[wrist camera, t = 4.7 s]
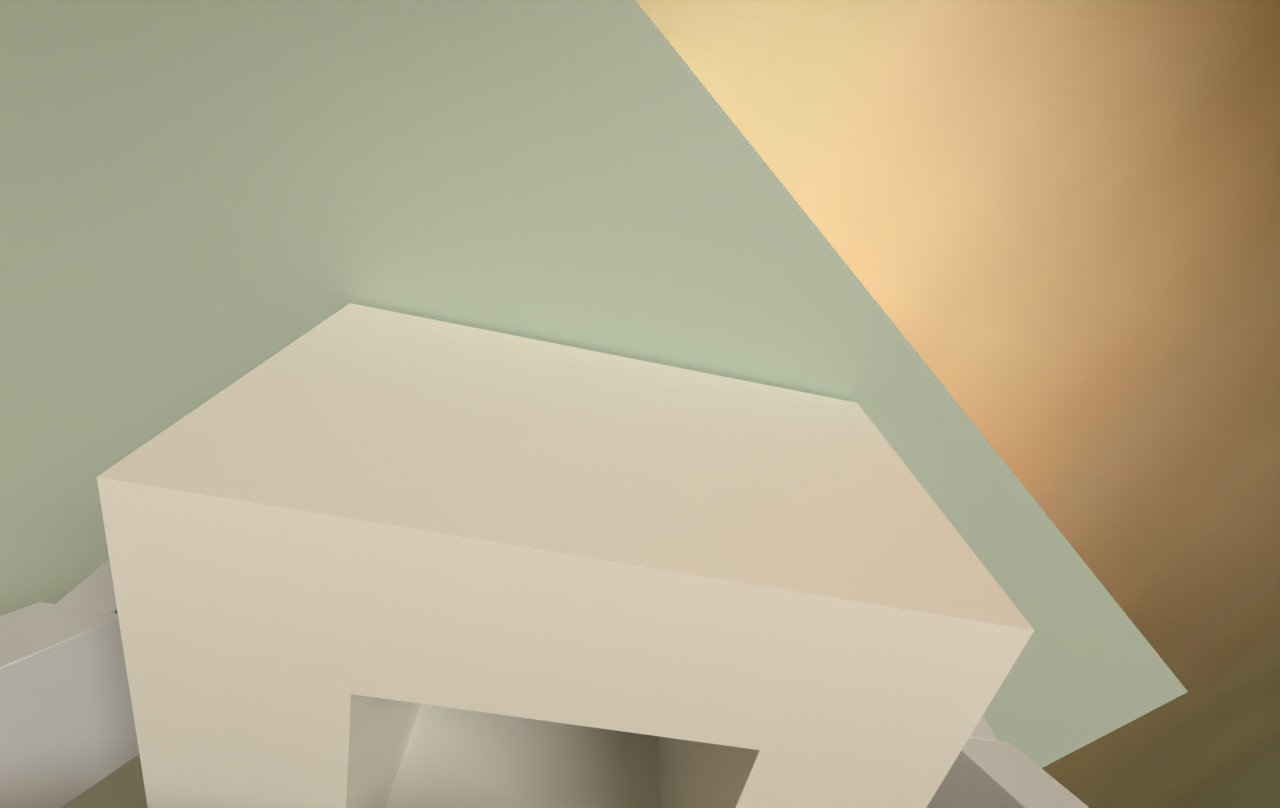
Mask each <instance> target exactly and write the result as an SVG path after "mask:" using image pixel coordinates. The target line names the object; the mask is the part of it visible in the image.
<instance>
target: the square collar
mask: <svg viewBox="0 0 1280 808" xmlns="http://www.w3.org/2000/svg"><path fill="white" fill-rule="evenodd" d="M97 482H98V489H99V495H100V502H101V508H102V515H103V521H104V528H105V534H106V541H107V547H108V554H109V560H110V567H111V573H112V580H113V586H114V592H115V599H116V605H117V612H118V618H119V625H120V631H121V638H122V644H123V651H124V657H125V664H126V670H127V677H128V683H129V689H130V696H131V702H132V709H133V715H134V722H135V728H136V735H137V741H138V748H139V754H140V761H141V767H142V774H143V780H144V786H145V793H146V799H147V806H148V808H926V807H927V806H928V804H929V803H930V801H931V799H932V798H933V796H934V794H935V793H936V791H937V789H938V788H939V786H940V785H941V783H942V781H943V780H944V778H945V776H946V775H947V773H948V771H949V770H950V768H951V766H952V765H953V763H954V762H955V760H956V758H957V757H958V755H959V753H960V752H961V750H962V748H963V747H964V745H965V744H966V742H967V740H968V739H969V737H970V735H971V734H972V732H973V730H974V729H975V727H976V725H977V724H978V722H979V721H980V719H981V717H982V716H983V714H984V712H985V711H986V709H987V707H988V706H989V704H990V703H991V701H992V699H993V698H994V696H995V694H996V693H997V691H998V689H999V688H1000V686H1001V685H1002V683H1003V681H1004V680H1005V678H1006V676H1007V675H1008V673H1009V671H1010V670H1011V668H1012V666H1013V665H1014V663H1015V662H1016V660H1017V658H1018V657H1019V655H1020V653H1021V652H1022V650H1023V648H1024V647H1025V645H1026V644H1027V642H1028V640H1029V639H1030V637H1031V635H1032V634H1033V632H1034V629H1033V628H1032V627H1031V625H1030V624H1029V623H1028V621H1027V620H1026V619H1025V618H1024V616H1023V615H1022V614H1021V612H1020V611H1019V610H1018V609H1017V607H1016V606H1015V605H1014V603H1013V602H1012V601H1011V600H1010V598H1009V597H1008V596H1007V595H1006V593H1005V592H1004V591H1003V589H1002V588H1001V587H1000V586H999V584H998V583H997V582H996V580H995V579H994V578H993V577H992V575H991V574H990V573H989V571H988V570H987V569H986V568H985V566H984V565H983V564H982V562H981V561H980V560H979V559H978V557H977V556H976V555H975V553H974V552H973V551H972V550H971V548H970V547H969V546H968V544H967V543H966V542H965V541H964V539H963V538H962V537H961V535H960V534H959V533H958V532H957V530H956V529H955V528H954V526H953V525H952V524H951V523H950V521H949V520H948V519H947V517H946V516H945V515H944V514H943V512H942V511H941V510H940V508H939V507H938V506H937V505H936V503H935V502H934V501H933V499H932V498H931V497H930V496H929V494H928V493H927V492H926V490H925V489H924V488H923V487H922V485H921V484H920V483H919V482H918V480H917V479H916V478H915V476H914V475H913V474H912V473H911V471H910V470H909V469H908V467H907V466H906V465H905V464H904V462H903V461H902V460H901V458H900V457H899V456H898V455H897V453H896V452H895V451H894V449H893V448H892V447H891V446H890V444H889V443H888V442H887V440H886V439H885V438H884V437H883V435H882V434H881V433H880V431H879V430H878V429H877V428H876V426H875V425H874V424H873V422H872V421H871V420H870V419H869V417H868V416H867V415H866V413H865V412H864V411H863V410H862V408H861V407H860V406H859V404H858V403H857V402H851V401H846V400H841V399H836V398H831V397H826V396H821V395H816V394H811V393H806V392H800V391H795V390H790V389H785V388H780V387H775V386H770V385H765V384H760V383H755V382H750V381H744V380H739V379H734V378H729V377H724V376H719V375H714V374H709V373H704V372H699V371H693V370H688V369H683V368H678V367H673V366H668V365H663V364H658V363H653V362H648V361H643V360H637V359H632V358H627V357H622V356H617V355H612V354H607V353H602V352H597V351H592V350H587V349H581V348H576V347H571V346H566V345H561V344H556V343H551V342H546V341H541V340H536V339H530V338H525V337H520V336H515V335H510V334H505V333H500V332H495V331H490V330H485V329H480V328H474V327H469V326H464V325H459V324H454V323H449V322H444V321H439V320H434V319H429V318H424V317H418V316H413V315H408V314H403V313H398V312H393V311H388V310H383V309H378V308H373V307H367V306H362V305H357V304H352V303H349V304H348V305H346V306H345V307H344V308H342V309H341V310H339V311H338V312H336V313H335V314H333V315H332V316H330V317H329V318H328V319H326V320H325V321H323V322H322V323H320V324H319V325H317V326H316V327H314V328H313V329H311V330H310V331H309V332H307V333H306V334H304V335H303V336H301V337H300V338H298V339H297V340H295V341H294V342H293V343H291V344H290V345H288V346H287V347H285V348H284V349H282V350H281V351H279V352H278V353H277V354H275V355H274V356H272V357H271V358H269V359H268V360H266V361H265V362H263V363H262V364H260V365H259V366H258V367H256V368H255V369H253V370H252V371H250V372H249V373H247V374H246V375H244V376H243V377H242V378H240V379H239V380H237V381H236V382H234V383H233V384H231V385H230V386H228V387H227V388H226V389H224V390H223V391H221V392H220V393H218V394H217V395H215V396H214V397H212V398H211V399H209V400H208V401H207V402H205V403H204V404H202V405H201V406H199V407H198V408H196V409H195V410H193V411H192V412H191V413H189V414H188V415H186V416H185V417H183V418H182V419H180V420H179V421H177V422H176V423H175V424H173V425H172V426H170V427H169V428H167V429H166V430H164V431H163V432H161V433H160V434H158V435H157V436H156V437H154V438H153V439H151V440H150V441H148V442H147V443H145V444H144V445H142V446H141V447H140V448H138V449H137V450H135V451H134V452H132V453H131V454H129V455H128V456H126V457H125V458H124V459H122V460H121V461H119V462H118V463H116V464H115V465H113V466H112V467H110V468H109V469H107V470H106V471H105V472H103V473H102V474H100V475H99V476H97Z"/></svg>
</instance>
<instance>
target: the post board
mask: <svg viewBox="0 0 1280 808" xmlns="http://www.w3.org/2000/svg"><path fill="white" fill-rule="evenodd" d="M349 303H352V304H357V305H362V306H367V307H373V308H378V309H383V310H388V311H393V312H398V313H403V314H408V315H413V316H418V317H424V318H429V319H434V320H439V321H444V322H449V323H454V324H459V325H464V326H469V327H474V328H480V329H485V330H490V331H495V332H500V333H505V334H510V335H515V336H520V337H525V338H530V339H536V340H541V341H546V342H551V343H556V344H561V345H566V346H571V347H576V348H581V349H587V350H592V351H597V352H602V353H607V354H612V355H617V356H622V357H627V358H632V359H637V360H643V361H648V362H653V363H658V364H663V365H668V366H673V367H678V368H683V369H688V370H693V371H699V372H704V373H709V374H714V375H719V376H724V377H729V378H734V379H739V380H744V381H750V382H755V383H760V384H765V385H770V386H775V387H780V388H785V389H790V390H795V391H800V392H806V393H811V394H816V395H821V396H826V397H831V398H836V399H841V400H846V401H851V402H857V403H858V404H859V406H860V407H861V408H862V410H863V411H864V412H865V413H866V415H867V416H868V417H869V419H870V420H871V421H872V422H873V424H874V425H875V426H876V428H877V429H878V430H879V431H880V433H881V434H882V435H883V437H884V438H885V439H886V440H887V442H888V443H889V444H890V446H891V447H892V448H893V449H894V451H895V452H896V453H897V455H898V456H899V457H900V458H901V460H902V461H903V462H904V464H905V465H906V466H907V467H908V469H909V470H910V471H911V473H912V474H913V475H914V476H915V478H916V479H917V480H918V482H919V483H920V484H921V485H922V487H923V488H924V489H925V490H926V492H927V493H928V494H929V496H930V497H931V498H932V499H933V501H934V502H935V503H936V505H937V506H938V507H939V508H940V510H941V511H942V512H943V514H944V515H945V516H946V517H947V519H948V520H949V521H950V523H951V524H952V525H953V526H954V528H955V529H956V530H957V532H958V533H959V534H960V535H961V537H962V538H963V539H964V541H965V542H966V543H967V544H968V546H969V547H970V548H971V550H972V551H973V552H974V553H975V555H976V556H977V557H978V559H979V560H980V561H981V562H982V564H983V565H984V566H985V568H986V569H987V570H988V571H989V573H990V574H991V575H992V577H993V578H994V579H995V580H996V582H997V583H998V584H999V586H1000V587H1001V588H1002V589H1003V591H1004V592H1005V593H1006V595H1007V596H1008V597H1009V598H1010V600H1011V601H1012V602H1013V603H1014V605H1015V606H1016V607H1017V609H1018V610H1019V611H1020V612H1021V614H1022V615H1023V616H1024V618H1025V619H1026V620H1027V621H1028V623H1029V624H1030V625H1031V627H1032V628H1033V629H1034V632H1033V634H1032V635H1031V637H1030V639H1029V640H1028V642H1027V644H1026V645H1025V647H1024V648H1023V650H1022V652H1021V653H1020V655H1019V657H1018V658H1017V660H1016V662H1015V663H1014V665H1013V666H1012V668H1011V670H1010V671H1009V673H1008V675H1007V676H1006V678H1005V680H1004V681H1003V683H1002V685H1001V686H1000V688H999V689H998V691H997V693H996V694H995V696H994V698H993V699H992V701H991V703H990V704H989V706H988V707H987V709H986V711H985V712H984V714H983V716H984V718H985V719H986V721H987V723H988V724H989V726H990V728H991V730H992V731H993V733H994V735H995V736H996V738H997V740H998V741H1002V742H1008V743H1011V744H1012V745H1014V746H1015V747H1016V748H1017V749H1018V750H1020V751H1021V752H1022V753H1023V754H1024V755H1026V756H1027V757H1028V758H1029V759H1031V760H1032V761H1033V762H1034V763H1035V764H1037V765H1038V766H1039V767H1040V768H1043V767H1045V766H1047V765H1049V764H1050V763H1052V762H1054V761H1056V760H1058V759H1060V758H1062V757H1064V756H1066V755H1068V754H1070V753H1072V752H1073V751H1075V750H1077V749H1079V748H1081V747H1083V746H1085V745H1087V744H1089V743H1091V742H1093V741H1095V740H1096V739H1098V738H1100V737H1102V736H1104V735H1106V734H1108V733H1110V732H1112V731H1114V730H1116V729H1118V728H1119V727H1121V726H1123V725H1125V724H1127V723H1129V722H1131V721H1133V720H1135V719H1137V718H1139V717H1141V716H1142V715H1144V714H1146V713H1148V712H1150V711H1152V710H1154V709H1156V708H1158V707H1160V706H1162V705H1164V704H1165V703H1167V702H1169V701H1171V700H1173V699H1175V698H1177V697H1179V696H1181V695H1183V694H1185V693H1187V692H1188V691H1187V690H1186V689H1185V688H1184V686H1183V685H1182V684H1181V683H1180V681H1179V680H1178V679H1177V678H1176V676H1175V675H1174V674H1173V673H1172V671H1171V670H1170V669H1169V668H1168V666H1167V665H1166V664H1165V663H1164V661H1163V660H1162V659H1161V658H1160V656H1159V655H1158V654H1157V653H1156V651H1155V650H1154V649H1153V648H1152V646H1151V645H1150V644H1149V643H1148V641H1147V640H1146V639H1145V638H1144V636H1143V635H1142V634H1141V633H1140V631H1139V630H1138V629H1137V628H1136V626H1135V625H1134V624H1133V623H1132V621H1131V620H1130V619H1129V618H1128V616H1127V615H1126V614H1125V613H1124V611H1123V610H1122V609H1121V608H1120V606H1119V605H1118V604H1117V603H1116V601H1115V600H1114V599H1113V598H1112V596H1111V595H1110V594H1109V593H1108V591H1107V590H1106V589H1105V588H1104V586H1103V585H1102V584H1101V583H1100V581H1099V580H1098V579H1097V578H1096V576H1095V575H1094V574H1093V573H1092V571H1091V570H1090V569H1089V568H1088V566H1087V565H1086V564H1085V563H1084V561H1083V560H1082V559H1081V558H1080V556H1079V555H1078V554H1077V553H1076V551H1075V550H1074V549H1073V547H1072V546H1071V545H1070V544H1069V542H1068V541H1067V540H1066V539H1065V537H1064V536H1063V535H1062V534H1061V532H1060V531H1059V530H1058V529H1057V527H1056V526H1055V525H1054V524H1053V522H1052V521H1051V520H1050V519H1049V517H1048V516H1047V515H1046V514H1045V512H1044V511H1043V510H1042V509H1041V507H1040V506H1039V505H1038V504H1037V502H1036V501H1035V500H1034V499H1033V497H1032V496H1031V495H1030V494H1029V492H1028V491H1027V490H1026V489H1025V487H1024V486H1023V485H1022V484H1021V482H1020V481H1019V480H1018V479H1017V477H1016V476H1015V475H1014V474H1013V472H1012V471H1011V470H1010V469H1009V467H1008V466H1007V465H1006V464H1005V462H1004V461H1003V460H1002V459H1001V457H1000V456H999V455H998V454H997V452H996V451H995V450H994V449H993V447H992V446H991V445H990V444H989V442H988V441H987V440H986V439H985V437H984V436H983V435H982V434H981V432H980V431H979V430H978V429H977V427H976V426H975V425H974V424H973V422H972V421H971V420H970V419H969V417H968V416H967V415H966V414H965V412H964V411H963V410H962V409H961V407H960V406H959V405H958V404H957V402H956V401H955V400H954V399H953V397H952V396H951V395H950V394H949V392H948V391H947V390H946V389H945V387H944V386H943V385H942V384H941V382H940V381H939V380H938V379H937V377H936V376H935V375H934V374H933V372H932V371H931V370H930V369H929V367H928V366H927V365H926V364H925V362H924V361H923V360H922V359H921V357H920V356H919V355H918V354H917V352H916V351H915V350H914V349H913V347H912V346H911V345H910V344H909V342H908V341H907V340H906V339H905V337H904V336H903V335H902V334H901V332H900V331H899V330H898V329H897V327H896V326H895V325H894V324H893V322H892V321H891V320H890V319H889V317H888V316H887V315H886V314H885V312H884V311H883V310H882V309H881V307H880V306H879V305H878V304H877V302H876V301H875V300H874V299H873V297H872V296H871V295H870V294H869V292H868V291H867V290H866V288H865V287H864V286H863V285H862V283H861V282H860V281H859V280H858V278H857V277H856V276H855V275H854V273H853V272H852V271H851V270H850V268H849V267H848V266H847V265H846V263H845V262H844V261H843V260H842V258H841V257H840V256H839V255H838V253H837V252H836V251H835V250H834V248H833V247H832V246H831V245H830V243H829V242H828V241H827V240H826V238H825V237H824V236H823V235H822V233H821V232H820V231H819V230H818V228H817V227H816V226H815V225H814V223H813V222H812V221H811V220H810V218H809V217H808V216H807V215H806V213H805V212H804V211H803V210H802V208H801V207H800V206H799V205H798V203H797V202H796V201H795V200H794V198H793V197H792V196H791V195H790V193H789V192H788V191H787V190H786V188H785V187H784V186H783V185H782V183H781V182H780V181H779V180H778V178H777V177H776V176H775V175H774V173H773V172H772V171H771V170H770V168H769V167H768V166H767V165H766V163H765V162H764V161H763V160H762V158H761V157H760V156H759V155H758V153H757V152H756V151H755V150H754V148H753V147H752V146H751V145H750V143H749V142H748V141H747V140H746V138H745V137H744V136H743V135H742V133H741V132H740V131H739V130H738V128H737V127H736V126H735V125H734V123H733V122H732V121H731V120H730V118H729V117H728V116H727V115H726V113H725V112H724V111H723V110H722V108H721V107H720V106H719V105H718V103H717V102H716V101H715V100H714V98H713V97H712V96H711V95H710V93H709V92H708V91H707V90H706V88H705V87H704V86H703V85H702V83H701V82H700V81H699V80H698V78H697V77H696V76H695V75H694V73H693V72H692V71H691V70H690V68H689V67H688V66H687V65H686V63H685V62H684V61H683V60H682V58H681V57H680V56H679V55H678V53H677V52H676V51H675V50H674V48H673V47H672V46H671V45H670V43H669V42H668V41H667V40H666V38H665V37H664V36H663V35H662V33H661V32H660V31H659V29H658V28H657V27H656V26H655V24H654V23H653V22H652V21H651V19H650V18H649V17H648V16H647V14H646V13H645V12H644V11H643V9H642V8H641V7H640V6H639V4H638V3H637V2H636V1H635V0H0V616H3V615H5V614H8V613H11V612H14V611H16V610H19V609H22V608H25V607H27V606H30V605H33V604H35V603H38V602H43V603H51V604H56V603H57V602H58V601H60V600H61V599H62V598H63V597H64V596H65V595H67V594H68V593H69V592H70V591H71V590H73V589H74V588H75V587H76V586H77V585H78V584H80V583H81V582H82V581H83V580H84V579H86V578H87V577H88V576H89V575H90V574H91V573H93V572H94V571H95V570H96V569H97V568H98V567H100V566H101V565H102V564H103V563H104V562H106V561H107V560H108V559H109V554H108V547H107V541H106V534H105V528H104V521H103V515H102V508H101V502H100V495H99V489H98V482H97V476H99V475H100V474H102V473H103V472H105V471H106V470H107V469H109V468H110V467H112V466H113V465H115V464H116V463H118V462H119V461H121V460H122V459H124V458H125V457H126V456H128V455H129V454H131V453H132V452H134V451H135V450H137V449H138V448H140V447H141V446H142V445H144V444H145V443H147V442H148V441H150V440H151V439H153V438H154V437H156V436H157V435H158V434H160V433H161V432H163V431H164V430H166V429H167V428H169V427H170V426H172V425H173V424H175V423H176V422H177V421H179V420H180V419H182V418H183V417H185V416H186V415H188V414H189V413H191V412H192V411H193V410H195V409H196V408H198V407H199V406H201V405H202V404H204V403H205V402H207V401H208V400H209V399H211V398H212V397H214V396H215V395H217V394H218V393H220V392H221V391H223V390H224V389H226V388H227V387H228V386H230V385H231V384H233V383H234V382H236V381H237V380H239V379H240V378H242V377H243V376H244V375H246V374H247V373H249V372H250V371H252V370H253V369H255V368H256V367H258V366H259V365H260V364H262V363H263V362H265V361H266V360H268V359H269V358H271V357H272V356H274V355H275V354H277V353H278V352H279V351H281V350H282V349H284V348H285V347H287V346H288V345H290V344H291V343H293V342H294V341H295V340H297V339H298V338H300V337H301V336H303V335H304V334H306V333H307V332H309V331H310V330H311V329H313V328H314V327H316V326H317V325H319V324H320V323H322V322H323V321H325V320H326V319H328V318H329V317H330V316H332V315H333V314H335V313H336V312H338V311H339V310H341V309H342V308H344V307H345V306H346V305H348V304H349ZM61 808H148V806H147V799H146V793H145V786H144V780H143V774H142V767H141V761H140V754H139V755H137V756H136V757H134V758H133V759H131V760H130V761H128V762H127V763H125V764H124V765H122V766H121V767H120V768H118V769H117V770H115V771H114V772H112V773H111V774H109V775H108V776H106V777H105V778H103V779H102V780H100V781H99V782H98V783H96V784H95V785H93V786H92V787H90V788H89V789H87V790H86V791H84V792H83V793H81V794H80V795H79V796H77V797H76V798H74V799H73V800H71V801H70V802H68V803H67V804H65V805H64V806H62V807H61Z"/></svg>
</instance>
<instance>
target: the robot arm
mask: <svg viewBox="0 0 1280 808" xmlns="http://www.w3.org/2000/svg"><path fill="white" fill-rule="evenodd" d="M137 755H139V748H138V741H137V735H136V728H135V722H134V715H133V709H132V702H131V696H130V689H129V683H128V677H127V670H126V664H125V657H124V651H123V644H122V638H121V631H120V625H119V618H118V612H117V605H116V599H115V592H114V586H113V580H112V573H111V567H110V560H109V559H108V560H107V561H106V562H104V563H103V564H102V565H101V566H100V567H98V568H97V569H96V570H95V571H94V572H93V573H91V574H90V575H89V576H88V577H87V578H86V579H84V580H83V581H82V582H81V583H80V584H78V585H77V586H76V587H75V588H74V589H73V590H71V591H70V592H69V593H68V594H67V595H65V596H64V597H63V598H62V599H61V600H60V601H58V602H57V603H56V604H51V603H43V602H38V603H35V604H33V605H30V606H27V607H25V608H22V609H19V610H16V611H14V612H11V613H8V614H5V615H3V616H0V808H61V807H62V806H64V805H65V804H67V803H68V802H70V801H71V800H73V799H74V798H76V797H77V796H79V795H80V794H81V793H83V792H84V791H86V790H87V789H89V788H90V787H92V786H93V785H95V784H96V783H98V782H99V781H100V780H102V779H103V778H105V777H106V776H108V775H109V774H111V773H112V772H114V771H115V770H117V769H118V768H120V767H121V766H122V765H124V764H125V763H127V762H128V761H130V760H131V759H133V758H134V757H136V756H137ZM926 808H1089V807H1088V806H1086V805H1085V804H1084V803H1083V802H1081V801H1080V800H1079V799H1078V798H1077V797H1075V796H1074V795H1073V794H1072V793H1071V792H1069V791H1068V790H1067V789H1066V788H1065V787H1063V786H1062V785H1061V784H1060V783H1058V782H1057V781H1056V780H1055V779H1054V778H1052V777H1051V776H1050V775H1049V774H1048V773H1046V772H1045V771H1044V770H1043V769H1041V768H1040V767H1039V766H1038V765H1037V764H1035V763H1034V762H1033V761H1032V760H1031V759H1029V758H1028V757H1027V756H1026V755H1024V754H1023V753H1022V752H1021V751H1020V750H1018V749H1017V748H1016V747H1015V746H1014V745H1012V744H1011V743H1008V742H1002V741H998V740H997V738H996V736H995V735H994V733H993V731H992V730H991V728H990V726H989V724H988V723H987V721H986V719H985V718H984V716H982V717H981V719H980V721H979V722H978V724H977V725H976V727H975V729H974V730H973V732H972V734H971V735H970V737H969V739H968V740H967V742H966V744H965V745H964V747H963V748H962V750H961V752H960V753H959V755H958V757H957V758H956V760H955V762H954V763H953V765H952V766H951V768H950V770H949V771H948V773H947V775H946V776H945V778H944V780H943V781H942V783H941V785H940V786H939V788H938V789H937V791H936V793H935V794H934V796H933V798H932V799H931V801H930V803H929V804H928V806H927V807H926Z"/></svg>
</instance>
